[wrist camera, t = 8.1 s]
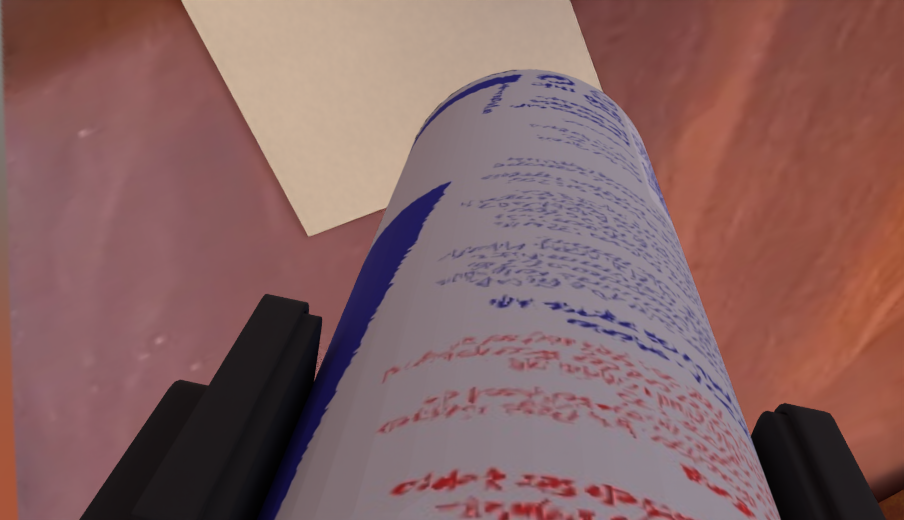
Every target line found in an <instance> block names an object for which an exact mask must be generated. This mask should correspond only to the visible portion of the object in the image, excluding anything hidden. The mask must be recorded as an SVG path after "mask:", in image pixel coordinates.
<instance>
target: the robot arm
mask: <svg viewBox="0 0 904 520" xmlns="http://www.w3.org/2000/svg"><path fill="white" fill-rule="evenodd" d="M321 327H322V317H320V316H315V315H310V314H309V305H308V303H307V302H303V301H298V300H293V299H288V298H284V297H279V296H274V295H269V294H265V295H264V296H263V298H262V299H261V301H260V302H259V304H258V306H257V307H256V309H255V310H254V312H253V314H252V315H251V317H250V319H249V320H248V322H247V324H246V325H245V327H244V328H243V330H242V332H241V333H240V335H239V337H238V338H237V340H236V342H235V343H234V345H233V347H232V348H231V350H230V351H229V353H228V355H227V356H226V358H225V360H224V361H223V363H222V365H221V366H220V368H219V369H218V371H217V373H216V374H215V376H214V378H213V379H212V381H211V383H210V384H209V386H208V385H203V384H198V383H193V382H189V381H184V380H178V381H176V382H174V383H173V384H172V386H171V387H170V388H169V389H168V390H167V392H166V393H165V395H164V396H163V398H162V399H161V401H160V402H159V404H158V405H157V407H156V408H155V410H154V411H153V412H152V414H151V415H150V417H149V418H148V420H147V421H146V423H145V424H144V426H143V427H142V429H141V430H140V432H139V433H138V434H137V436H136V437H135V439H134V440H133V442H132V443H131V445H130V446H129V448H128V449H127V451H126V452H125V454H124V455H123V456H122V458H121V459H120V461H119V462H118V464H117V465H116V467H115V468H114V470H113V471H112V473H111V474H110V476H109V477H108V478H107V480H106V481H105V483H104V484H103V486H102V487H101V489H100V490H99V492H98V493H97V495H96V496H95V498H94V499H93V501H92V502H91V503H90V505H89V506H88V508H87V509H86V511H85V512H84V514H83V515H82V517H81V518H80V520H257V518H258V515H259V513H260V510H261V508H262V506H263V503H264V501H265V498H266V496H267V494H268V491H269V489H270V486H271V484H272V482H273V479H274V477H275V474H276V472H277V470H278V467H279V465H280V462H281V460H282V458H283V455H284V453H285V450H286V448H287V446H288V443H289V441H290V438H291V436H292V434H293V431H294V429H295V427H296V424H297V422H298V419H299V417H300V415H301V412H302V410H303V407H304V405H305V403H306V400H307V398H308V395H309V393H310V391H311V388H312V386H313V383H314V378H315V371H316V364H317V356H318V349H319V342H320V335H321ZM751 439H752V442H753V445H754V448H755V450H756V453H757V456H758V458H759V461H760V464H761V467H762V469H763V472H764V475H765V478H766V480H767V483H768V486H769V489H770V491H771V494H772V497H773V500H774V502H775V505H776V508H777V511H778V513H779V516H780V519H781V520H886V518H885V516H884V514H883V512H882V510H881V508H880V506H879V504H878V502H877V500H876V499H875V497H874V495H873V493H872V491H871V489H870V487H869V485H868V483H867V481H866V479H865V478H864V476H863V474H862V472H861V470H860V468H859V466H858V464H857V462H856V460H855V458H854V456H853V455H852V453H851V451H850V449H849V447H848V445H847V443H846V441H845V439H844V437H843V435H842V434H841V432H840V430H839V428H838V426H837V424H836V422H835V420H834V418H833V417H832V416H831V415H830V413H827V412H824V411H819V410H815V409H810V408H805V407H800V406H796V405H791V404H786V403H784V404H781V405H779V406H778V407H777V408H776V409H775V411H774V412H770V411H765V412H763V413H762V414H761V415H760V417H759V419H758V421H757V423H756V425H755V428H754V430H753V432H752V435H751Z"/></svg>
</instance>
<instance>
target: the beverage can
mask: <svg viewBox="0 0 904 520" xmlns="http://www.w3.org/2000/svg"><path fill="white" fill-rule="evenodd" d="M257 520H781V519H780V516H779V513H778V511H777V508H776V505H775V502H774V500H773V497H772V494H771V491H770V489H769V486H768V483H767V480H766V478H765V475H764V472H763V469H762V467H761V464H760V461H759V458H758V456H757V453H756V450H755V448H754V445H753V442H752V439H751V437H750V434H749V431H748V428H747V426H746V423H745V420H744V417H743V415H742V412H741V409H740V406H739V404H738V401H737V398H736V396H735V393H734V390H733V387H732V385H731V382H730V379H729V376H728V374H727V371H726V368H725V365H724V363H723V360H722V357H721V354H720V352H719V349H718V346H717V344H716V341H715V338H714V335H713V333H712V330H711V327H710V324H709V322H708V319H707V316H706V313H705V311H704V308H703V305H702V302H701V300H700V297H699V294H698V292H697V289H696V286H695V283H694V281H693V278H692V275H691V272H690V270H689V267H688V264H687V261H686V259H685V256H684V253H683V250H682V248H681V245H680V242H679V239H678V237H677V234H676V231H675V229H674V226H673V223H672V220H671V218H670V215H669V212H668V209H667V207H666V204H665V201H664V198H663V196H662V193H661V190H660V187H659V185H658V182H657V179H656V177H655V174H654V171H653V168H652V166H651V163H650V160H649V157H648V155H647V152H646V149H645V147H644V144H643V141H642V139H641V137H640V135H639V133H638V131H637V129H636V128H635V126H634V124H633V123H632V121H631V120H630V119H629V117H628V116H627V115H626V114H625V112H624V111H623V110H622V109H621V108H620V107H619V106H618V105H617V104H616V103H615V102H614V101H613V100H612V99H610V98H609V97H608V96H607V95H605V94H604V93H603V92H601V91H600V90H598V89H597V88H595V87H593V86H591V85H589V84H587V83H585V82H583V81H581V80H579V79H577V78H574V77H571V76H568V75H565V74H562V73H557V72H553V71H546V70H537V69H527V70H510V71H505V72H500V73H496V74H491V75H488V76H486V77H483V78H480V79H477V80H475V81H473V82H471V83H469V84H467V85H465V86H463V87H462V88H460V89H459V90H457V91H456V92H454V93H452V94H451V95H450V96H449V97H448V98H446V99H445V100H444V101H443V102H442V103H440V104H439V105H438V106H437V108H436V109H435V110H434V111H433V112H432V113H431V114H430V116H429V117H428V118H427V119H426V120H425V122H424V124H423V125H422V127H421V129H420V130H419V132H418V134H417V135H416V138H415V140H414V142H413V145H412V147H411V150H410V154H409V156H408V158H407V161H406V163H405V166H404V168H403V170H402V173H401V175H400V178H399V180H398V182H397V185H396V187H395V190H394V192H393V194H392V197H391V199H390V201H389V204H388V206H387V209H386V211H385V213H384V216H383V218H382V221H381V223H380V225H379V228H378V230H377V233H376V235H375V237H374V240H373V242H372V245H371V247H370V249H369V252H368V254H367V257H366V259H365V261H364V264H363V266H362V269H361V271H360V273H359V276H358V278H357V280H356V283H355V285H354V288H353V290H352V292H351V295H350V297H349V300H348V302H347V304H346V307H345V309H344V312H343V314H342V316H341V319H340V321H339V324H338V326H337V328H336V331H335V333H334V336H333V338H332V340H331V343H330V345H329V348H328V350H327V352H326V355H325V357H324V359H323V362H322V364H321V367H320V369H319V371H318V374H317V376H316V379H315V381H314V383H313V386H312V388H311V391H310V393H309V395H308V398H307V400H306V403H305V405H304V407H303V410H302V412H301V415H300V417H299V419H298V422H297V424H296V427H295V429H294V431H293V434H292V436H291V438H290V441H289V443H288V446H287V448H286V450H285V453H284V455H283V458H282V460H281V462H280V465H279V467H278V470H277V472H276V474H275V477H274V479H273V482H272V484H271V486H270V489H269V491H268V494H267V496H266V498H265V501H264V503H263V506H262V508H261V510H260V513H259V515H258V518H257Z"/></svg>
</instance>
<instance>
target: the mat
mask: <svg viewBox="0 0 904 520" xmlns="http://www.w3.org/2000/svg"><path fill="white" fill-rule="evenodd" d="M181 1H182V3H183V5H184V7H185V9H186V10H187V12H188V14H189V16H190V18H191V20H192V22H193V23H194V25H195V27H196V29H197V31H198V33H199V35H200V36H201V38H202V40H203V42H204V44H205V46H206V47H207V49H208V51H209V53H210V55H211V57H212V59H213V60H214V62H215V64H216V66H217V68H218V70H219V72H220V73H221V75H222V77H223V79H224V81H225V83H226V85H227V86H228V88H229V90H230V92H231V94H232V96H233V98H234V99H235V101H236V103H237V105H238V107H239V109H240V111H241V112H242V114H243V116H244V118H245V120H246V122H247V124H248V125H249V127H250V129H251V131H252V133H253V135H254V137H255V138H256V140H257V142H258V144H259V146H260V148H261V150H262V151H263V153H264V155H265V157H266V159H267V161H268V162H269V164H270V166H271V168H272V170H273V172H274V174H275V175H276V177H277V179H278V181H279V183H280V185H281V187H282V188H283V190H284V192H285V194H286V196H287V198H288V200H289V201H290V203H291V205H292V207H293V209H294V211H295V213H296V214H297V216H298V218H299V220H300V222H301V224H302V226H303V227H304V229H305V231H306V233H307V235H308V236H309V237H310V236H312V235H315V234H317V233H320V232H323V231H325V230H328V229H331V228H333V227H336V226H339V225H341V224H344V223H347V222H349V221H352V220H354V219H357V218H360V217H362V216H365V215H368V214H370V213H373V212H376V211H378V210H381V209H384V208H386V207H387V206H388V204H389V201H390V199H391V197H392V194H393V192H394V190H395V187H396V185H397V182H398V180H399V178H400V175H401V173H402V170H403V168H404V166H405V163H406V161H407V158H408V156H409V154H410V150H411V147H412V145H413V142H414V140H415V138H416V135H417V134H418V132H419V130H420V129H421V127H422V125H423V124H424V122H425V120H426V119H427V118H428V117H429V116H430V114H431V113H432V112H433V111H434V110H435V109H436V108H437V106H438V105H439V104H440V103H442V102H443V101H444V100H445V99H446V98H448V97H449V96H450V95H451V94H452V93H454V92H456V91H457V90H459V89H460V88H462V87H463V86H465V85H467V84H469V83H471V82H473V81H475V80H477V79H480V78H483V77H486V76H488V75H491V74H496V73H500V72H505V71H510V70H527V69H537V70H546V71H553V72H557V73H562V74H565V75H568V76H571V77H574V78H577V79H579V80H581V81H583V82H585V83H587V84H589V85H591V86H593V87H595V88H597V89H598V90H600V91H601V92H603V91H602V88H601V85H600V82H599V80H598V77H597V74H596V71H595V69H594V66H593V63H592V60H591V57H590V55H589V52H588V49H587V46H586V44H585V41H584V38H583V35H582V32H581V30H580V27H579V24H578V21H577V19H576V16H575V13H574V10H573V7H572V5H571V2H570V0H181Z"/></svg>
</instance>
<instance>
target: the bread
mask: <svg viewBox="0 0 904 520" xmlns="http://www.w3.org/2000/svg"><path fill="white" fill-rule="evenodd" d="M878 504H879V506H880V508H881V510H882V512H883V514H884V516H885V518H886V520H904V490H902V491H900V492H898V493H896V494H895V495H893V496H891V497H889V498H887V499H885V500H883V501H882V502H880V503H878Z"/></svg>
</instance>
